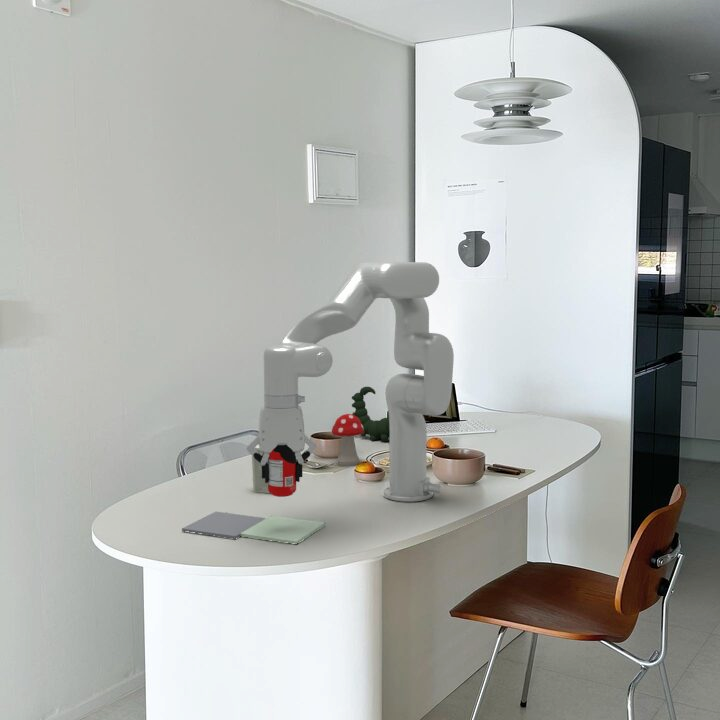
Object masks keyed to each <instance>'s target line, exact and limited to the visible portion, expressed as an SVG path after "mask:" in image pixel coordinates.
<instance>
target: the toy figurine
mask: <svg viewBox="0 0 720 720" xmlns="http://www.w3.org/2000/svg"><path fill="white" fill-rule="evenodd" d="M369 393H372V394H374V395H376V390H375V389H374V388H372V387H371V386H363V387H362V388H360V391H359V392H356V393H354V395H352V396H351V400H353V401H354V403H352V404H351V408H354V409H355V411H354V412H353V411H352V413H351V414H352V415H355V416H356V417H358V418H359V420H360V421H361V423H362V425H363V428H364V433H362V434H360V436H361V437H363V438H364V437H367V435H369V436H370V438H369V439H370V440H371V442H375V441H376V440H378V439H381V441H382V442H387V441H388V440H389V439H390V426H389V414H388V415H387V417H384V418H383V417H382V418H381V419H380V420H373V419H371V416H370V415H368V412H369V411H368V409H367V408H366V402H365V400H364V396H366V395H367V394H369Z"/></svg>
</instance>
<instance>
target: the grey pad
mask: <svg viewBox="0 0 720 720" xmlns="http://www.w3.org/2000/svg"><path fill="white" fill-rule="evenodd" d="M266 518H267V517H261V516H260V517H259V516H252V515H246V514H237V513H232V512H231V513H230V512H222V511H213V512H212V513H210V514H208V515H206V516H204V517H202V518H200V519H198V520H196V521H193V522H192V523H190V524H188V525H185V526H184V527H182V528H181V532H182V531H189V532H195V533H202V534H207V535H215V536H220V537H226V538H225V539H227V538H233V539H232V540H234V539H236V538H238V537H239V538H241V537H240V533H242V532H244V531H245V530H247V529H249V528H251V527H252V526H254V525H256V524H258V523H259V522H261V521H263V520H265V519H266ZM207 535H206V536H207ZM220 537H219V538H220ZM239 538H238V539H239ZM236 540H237V539H236Z"/></svg>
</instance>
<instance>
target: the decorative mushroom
mask: <svg viewBox="0 0 720 720" xmlns="http://www.w3.org/2000/svg"><path fill="white" fill-rule="evenodd" d="M362 433H364V428H363V425H362V423H361V421H360V420H359V418H358V417H356V416H355V415H352V413H345V414H342V415H341V416H339V417H338V418H337V419H336V420H335V422H334V424H333V425H332V429H331V434H332V435H333V436H336V437H340V438H341V442H340V448H339V449H340V450H339V453H338V457H337V458H336V462H337V464H338V466H341V467H350V466H355V465H358V464H359V460H360V458H359V456H358V452H357V448H356V443H355V437H357V436H361V434H362ZM357 463H358V464H357Z"/></svg>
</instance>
